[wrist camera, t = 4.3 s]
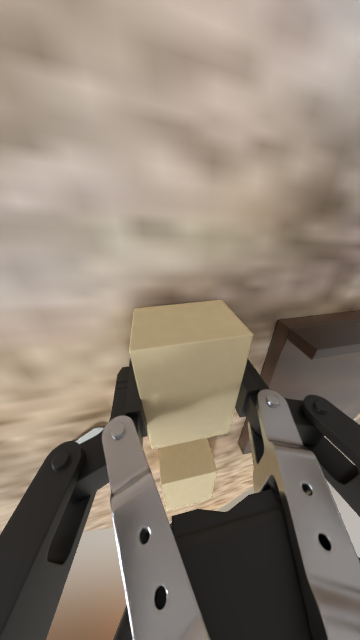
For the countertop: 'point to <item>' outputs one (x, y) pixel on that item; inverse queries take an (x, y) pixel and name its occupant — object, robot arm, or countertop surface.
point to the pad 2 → (186, 473)
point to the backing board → (315, 362)
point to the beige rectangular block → (188, 368)
